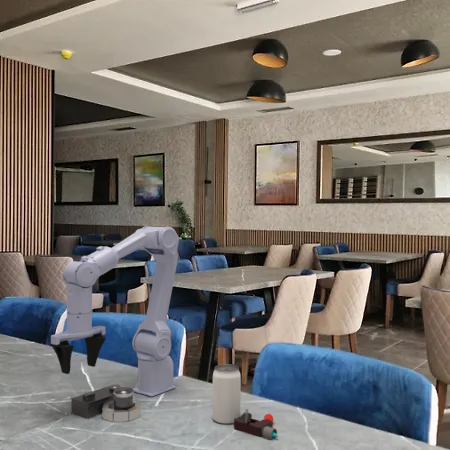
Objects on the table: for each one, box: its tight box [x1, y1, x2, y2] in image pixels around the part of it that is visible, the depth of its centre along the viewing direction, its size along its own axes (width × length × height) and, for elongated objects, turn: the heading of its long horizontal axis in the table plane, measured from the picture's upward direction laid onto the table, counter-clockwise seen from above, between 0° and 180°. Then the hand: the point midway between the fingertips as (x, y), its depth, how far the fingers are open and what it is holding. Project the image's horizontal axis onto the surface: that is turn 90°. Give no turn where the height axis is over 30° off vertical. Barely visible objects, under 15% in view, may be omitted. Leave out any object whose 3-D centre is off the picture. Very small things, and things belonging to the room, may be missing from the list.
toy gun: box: [233, 408, 279, 441], centre depth 120 cm, size 10×12×5 cm
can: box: [211, 363, 242, 425], centre depth 125 cm, size 6×6×12 cm
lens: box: [114, 386, 134, 410], centre depth 127 cm, size 5×5×6 cm
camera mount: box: [70, 384, 141, 423], centre depth 129 cm, size 13×15×4 cm
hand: (78, 369), depth 128 cm, fingers open, 7 cm apart
